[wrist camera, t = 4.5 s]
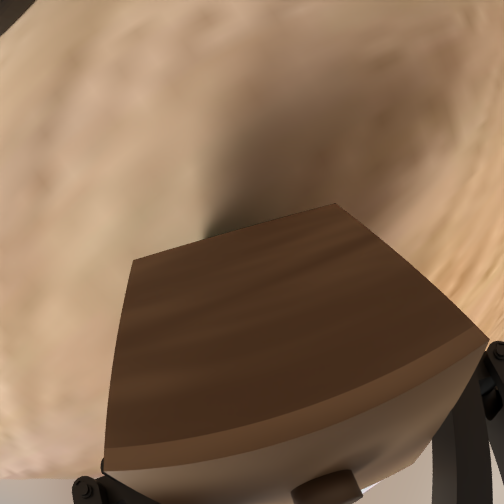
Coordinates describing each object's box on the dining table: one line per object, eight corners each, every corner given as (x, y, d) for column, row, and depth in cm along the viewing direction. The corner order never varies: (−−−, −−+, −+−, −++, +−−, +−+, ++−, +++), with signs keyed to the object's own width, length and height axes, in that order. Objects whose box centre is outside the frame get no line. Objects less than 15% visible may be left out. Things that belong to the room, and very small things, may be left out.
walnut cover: (133, 260, 12) (103, 512, 4) (335, 203, 13) (513, 365, 4) (197, 386, 17) (226, 546, 8) (341, 342, 18) (421, 479, 9)
